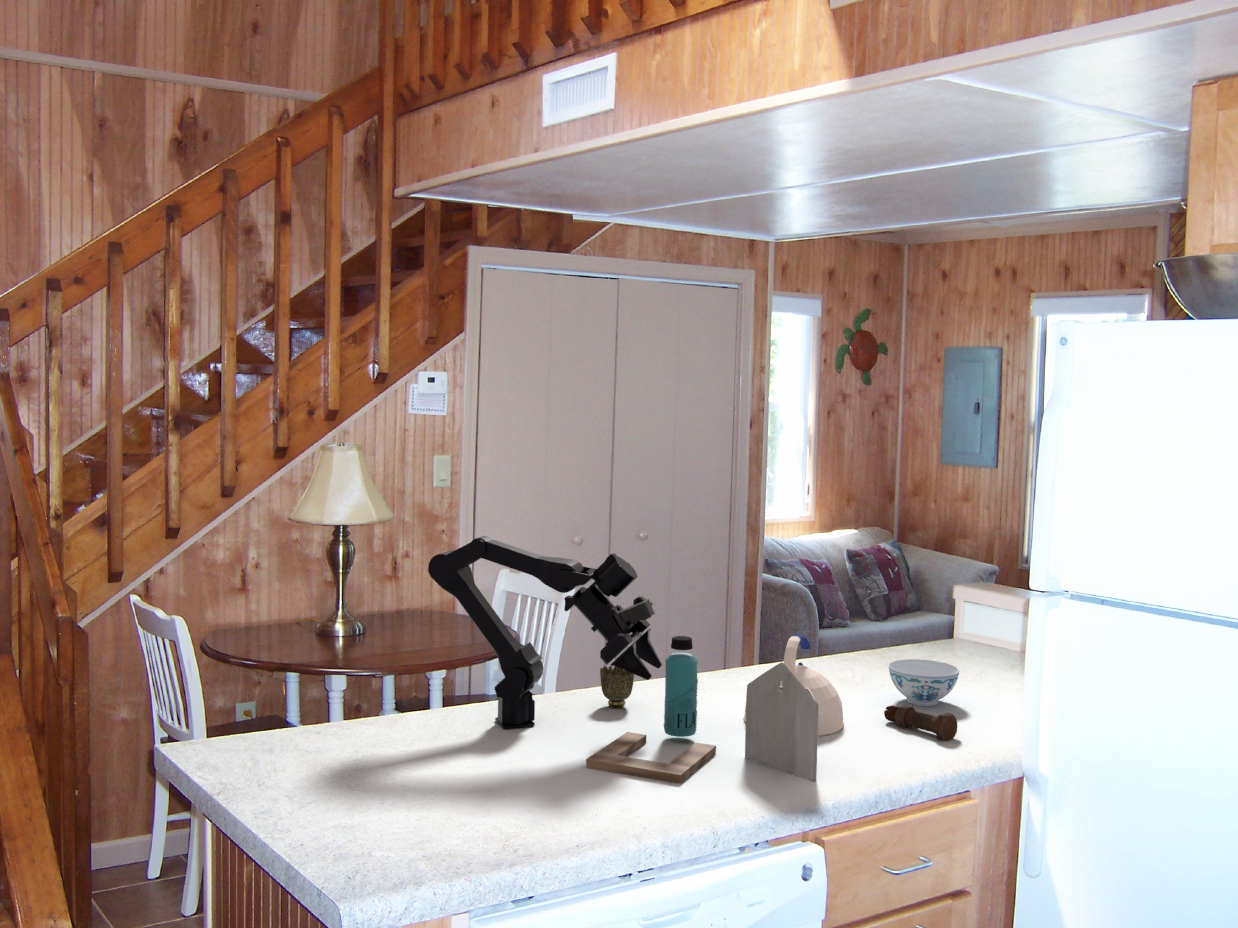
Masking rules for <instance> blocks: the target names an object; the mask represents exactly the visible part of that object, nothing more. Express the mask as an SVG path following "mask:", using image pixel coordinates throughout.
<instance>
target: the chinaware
mask: <svg viewBox="0 0 1238 928" xmlns="http://www.w3.org/2000/svg"><path fill="white" fill-rule="evenodd" d="M888 672H889V676H890V678H891V681H892V683H893V685H894V686H895V688H896V690H898V692H899V693H901V694H902V695H903V696H904V697H906V702H907V703H909V704H910V705H915V706H920V707H921V706H923V707H933V706H937V705H938V704H939V701H940V700H941V699H944V698H945V697H946V696H948V694H950V693H951V691H952V690H953V689H954V687H955V685H956V684H957V681H958V679H959V675H960V668H958V667H957V666H955V665H954V664H951V663H947V662H943V661H939V660H933V659H919V658H904V659H896V660H893V661H891V662H889V663H888Z"/></svg>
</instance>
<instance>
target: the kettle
mask: <svg viewBox="0 0 1238 928" xmlns="http://www.w3.org/2000/svg"><path fill="white" fill-rule="evenodd" d="M799 646H800V648H801V649H803V650H810V649H811V644H810V642H809V639H808V638H807V637H806V636H805V635H803V634H794V635H792V636H790V637H789V638H788V640H787V644H786V646H785V651H784V655H783V656H784V657H783V663H784V664H785V665H786V666H787V667H788V669H789V670H790V671H791V672H792V673H793V675H794V676H795V677H796V678H797V679H798V681H799V682H800V683H801V684H802V685H803V686H804V688H809V689H810V691H811V692H812V693H813V695H814V697H815V699H816V701H817V703H818V737H823V736H827V735H828V736H829V735H832V734H835V733H838V732H840V730H842V729H843V728H844V725H845V722H844V715H843V713H844V712H843V710H844V709H843V702H842V700H841V697H840V695H839V692H838V691H837V689H836V688H835V687H834V685H833V684H832V683H831V681H830V680H829V679H828V678H827V677H826V676H824V675H823V674H822V673H821V672H819V670H818V671H817V670H816V669H813V668H811V667H808V666H805V665H804V664H803V662H798V664H796V659H797V653H798V648H799ZM779 687H783V686H782V681H781V682H780V686H779ZM743 720H744V722H745V723H746V706H745V707H744V715H743Z"/></svg>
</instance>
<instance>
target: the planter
mask: <svg viewBox="0 0 1238 928" xmlns="http://www.w3.org/2000/svg"><path fill="white" fill-rule="evenodd" d="M781 681H782V686H783V687H779V686H780V682H781ZM745 700H746V701H745V707H746V722H745V733H744V734H745V735H744V736H745V740H744V743H745V744H744V758H745V759H747V760H749V761H752V762H756V763H758V764H761V765H764V766H766V767H770V768H772V769H775V770H778V771H782V772H784V773H788V774H791V775H794V776H796V777H799V778H802V779H805V780H808V781H811V782H816V781H817V772H818V768H817V765H818V764H817V763H818V738H819V736H818V703H817V701H816V699H815V697H814V695H813V693H812V692H811V691H810V689H809V688H804V686H803V685H802V684H801V683H800V682H799V681H798V679H797V678H796V677H795V676H794V675H793V673H792V672H791V671H790V670H789V669H788V667H787V666H786V665H785V664H784V662H779V663H777V664H776V665H774V666H772V667H771V668H770V669H768V670H766V671H765V672H764V673H762V674H760V675H759V676H757V677H756V678H754V679H753V680H752V681H750V682H749V683H748V684H747V685H746V699H745Z"/></svg>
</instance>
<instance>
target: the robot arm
mask: <svg viewBox="0 0 1238 928" xmlns="http://www.w3.org/2000/svg"><path fill="white" fill-rule="evenodd" d="M480 559H484V560H485V561H490V562H492V563H494V564H498V565H501V566H503V567H505V568H509V569H513V570H516V571H518V572H521V573H524V574H527V575H530V576H532V577H534V578H536V579H538V580H539V581H540V582H541V583H542V584H544V585H546V586H547V587H549V588H551V589H553V590H555V591H556V592H557V593H558V592H559V593H561V594H562V593H563V594H564V593H569V592H571V591H573V590H575V589H577V588H578V587H579V586H582V587H580V588H579V589H577V591H576V592H575V593H574V594H573V595H566V596H565V597H564V599H563V600H564V609H563V610H564V612H568V611H570V610H571V609H573V608H574V607H575V608H576V609H577V610H578V611H579V612H580V613H581V615H583V617H584V618H585V619H586V620H587V621H588V622H589V624H590V625H592V627H591V629H590V630H591V631H592V632H594V633H595V632H598V633H599V634H600V636H602V637H603V639H604V640H605V641H606V643H605V646H603V648H601V650H600V651H599V653H600V654H599V656H600V657H599V658H600V659H601V661H603V662H604V664H605V665H606V666H608V664H610V665H609V666H612V667H615V666H616V667H618V668H621V669H623V670H626V671H628V672H630V673H633V674H634V676H638V677H639V678H642V679H644V680H647V681H649V680H650V679H652V674H651V673H650V671H649V669H648V667H647V666H646V665H645V663H647V664H649V665H651V666H652V667H655V668H656V669H660V668H661V667H662V665H663V664H662V662H661V659H660V658H659V656H658V654H657V652H656V650H655V648H654V647H653V643H652V642H651V639H650V638H651V631H652V629H651V627H650V626H651V624H650V622H649V621H648V619H650V618H652V616H653V615H655V611H654V609H653V602H652V601H650V598H645V597H644V595H639V596H637V597H635V598H634V599H633V604H632V605H630V606H628V607H626V608H623V607H622V606H621V605H620V604H616V605H614V604H613V603H612V602H611V600H610V599H609V597H611V596H612V597H615V598H618V597H619V596H620V594H622V593H623V591H625V590H626V589H627V588H628V587H629V586H630V585H631V584H632V583H633V582H634V581H635V580H636V579H637V578H638V573H637V571H636V570H635V569H634V567H633V565H631V564H630V562H629V561H628V562H627V561H626V560H624V559H623V558H621V557H620V556H618V555H617V553H615V552H612V553H611V554H610V553H609V555H608V556H607V557H606V558H605V560H604V561H603V562H602V563H601V564H600V565H599V566H598V567H597V568H594V567H588V566H586V565H585V566H583V564H582V563H581V562H580V561H578V560H576V559H573V558H564V557H555V556H544V555H540V554H537V553H535V552H532V551H529V550H526V549H522V548H520V547H517V546H514V545H511V544H508V543H504V542H502V541H499V540H495V539H493V538H491V537H490V536H488V535H483V536H479V537H476V538H474V539H472V540H471V541H470V542H469V543H467V544H464V545H463V546H461V547H459V548H457V549H450V550H446V551H443V552H441V553H440V552H439V553H438V554H435V555H434V556H432V557H431V558H430V560H429V562H428V567H427V571H428V575H429V576H430V578H431V579H432V580H433V581H434V582H435V583H436V585H438V586H439V587H440V588H441V589H442V590H444V591H446V592H447V593H449V594H451V596H453V597H454V598H456V599H457V601H458V602H459V604H460V605H461V607H462V608H463V609H464V611H465V612H466V614H467V615H469V618H470V619H471V620H472V622H473V623H474V625H475V626H476V627H477V628H478V630H479V631H480V633H481V634H482V635H483V637H484V638H485V639H486V642H488V643H489V644H488V645H490V646H491V648H492V649H493V650H494V652H495V654H496V655H497V658H498V659H497V660H498V661H499V662H498V663H499V667H500V670H501V673H502V674H503V676H504V678H502V680H500V681H499V682H498V683H497V684H496V685H495V686H494V692H495V695H496V697H497V717H495V719H494V720H495V721H496V722H497V724H498V725H499V726H500V727H501V728H503V729H505V730H506V729H507V730H508V729H516V728H527V727H534V726H536V725H535V724H536V723H535V722H534V721H535V716H536V715H535V711H536V709H535V708H536V705H535V704H536V703H535V702H536V701H535V700H534V699H533V692H531V690H532V689H533V688H534V686H535V684H536V683H537V682H538V681H539V680H540V679H541V678H542V676H543V674H544V664H543V662H542V661H541V659H543V657H542V656H541V655H540V654H539V653H537V651H536V649H535V648H534V646H533V644H532V643H531V642H530V641H529V642H527V643H525V644H524V645H523V644H522V643H521V642H519V641H518V640H517V639H516V638H515V637H514V636H513V634H512V632H511V631H510V630H509V629H508V627H507V626H506V624H505V623H504V622H503V621H502V619H501V618H500V617H499V615H498V614H497V612H496V611H495V610H494V608H493V606H491V604H490V602H489V601H488V600H487V599H486V597H485V596H484V595H483V593H482V592H481V590H480V589H479V587H478V586H477V584H476V583H475V580H474V574H473V572H472V568H471V567H470V565H473V564H474V563H475V562H478V561H479V560H480ZM592 581H593V582H592ZM590 582H592V583H591V584H590V585H589V586H588V587H584V585H587V584H588V583H590ZM649 627H650V628H649ZM645 630H646V631H645ZM614 659H615V660H614ZM613 660H614V661H613ZM643 661H644V662H645V663H644V662H643ZM610 662H611V663H610Z"/></svg>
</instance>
